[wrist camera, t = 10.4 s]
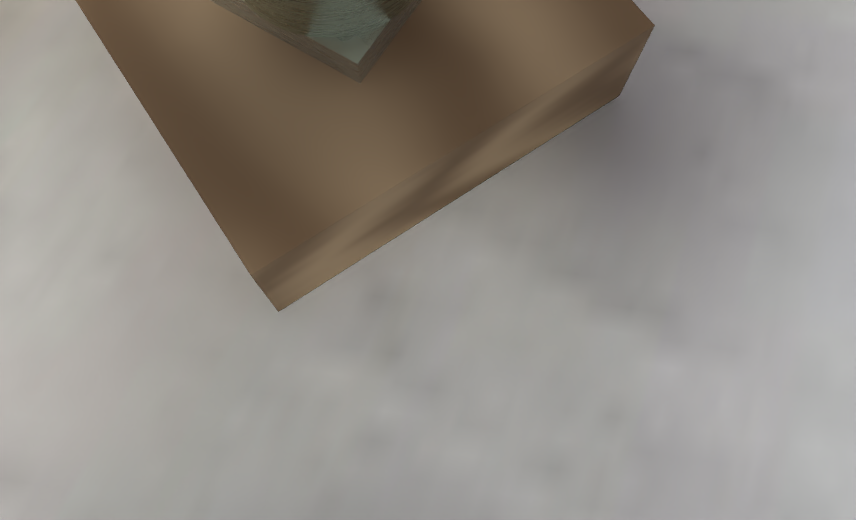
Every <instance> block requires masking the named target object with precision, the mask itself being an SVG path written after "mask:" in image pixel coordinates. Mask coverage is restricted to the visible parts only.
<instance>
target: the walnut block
mask: <svg viewBox="0 0 856 520" xmlns="http://www.w3.org/2000/svg"><path fill="white" fill-rule="evenodd" d="M76 2H77V3H78V5H79V6H80V8H81V10H82V11H83V13H84V14H85V16H86V17H87V19H88V21H89V22H90V24H91V25H92V27H93V28H94V30H95V32H96V33H97V35H98V36H99V38H100V39H101V41H102V43H103V44H104V46H105V47H106V49H107V50H108V52H109V54H110V55H111V57H112V58H113V60H114V61H115V63H116V65H117V66H118V68H119V69H120V71H121V72H122V74H123V75H124V77H125V79H126V80H127V82H128V83H129V85H130V86H131V88H132V90H133V91H134V93H135V94H136V96H137V97H138V99H139V101H140V102H141V104H142V105H143V107H144V108H145V110H146V112H147V113H148V115H149V116H150V118H151V119H152V121H153V123H154V124H155V126H156V127H157V129H158V130H159V132H160V134H161V135H162V137H163V138H164V140H165V141H166V143H167V145H168V146H169V148H170V149H171V151H172V152H173V154H174V156H175V157H176V159H177V160H178V162H179V163H180V165H181V167H182V168H183V170H184V171H185V173H186V174H187V176H188V178H189V179H190V181H191V182H192V184H193V185H194V187H195V189H196V190H197V192H198V193H199V195H200V196H201V198H202V200H203V201H204V203H205V204H206V206H207V207H208V209H209V211H210V212H211V214H212V215H213V217H214V218H215V220H216V222H217V223H218V225H219V226H220V228H221V229H222V231H223V232H224V234H225V236H226V237H227V239H228V240H229V242H230V243H231V245H232V247H233V248H234V250H235V251H236V253H237V254H238V256H239V258H240V259H241V261H242V262H243V264H244V265H245V267H246V269H247V270H248V272H249V273H250V275H251V276H252V278H253V279H254V280H255V282H256V283H257V284H258V285H259V287H260V288H261V289H262V291H263V292H264V293H265V295H266V296H267V297H268V299H269V300H270V301H271V303H272V304H273V305H274V307H275V308H276V309H277V310H278V312H279V311H280V310H282V309H284V308H285V307H287V306H288V305H290V304H291V303H293V302H295V301H296V300H298V299H299V298H301V297H302V296H304V295H306V294H307V293H309V292H310V291H312V290H314V289H315V288H317V287H318V286H320V285H321V284H323V283H325V282H326V281H328V280H329V279H331V278H332V277H334V276H336V275H337V274H339V273H340V272H342V271H343V270H345V269H347V268H348V267H350V266H351V265H353V264H355V263H356V262H358V261H359V260H361V259H362V258H364V257H366V256H367V255H369V254H370V253H372V252H373V251H375V250H377V249H378V248H380V247H381V246H383V245H384V244H386V243H388V242H389V241H391V240H392V239H394V238H396V237H397V236H399V235H400V234H402V233H403V232H405V231H407V230H408V229H410V228H411V227H413V226H414V225H416V224H418V223H419V222H421V221H422V220H424V219H425V218H427V217H429V216H430V215H432V214H433V213H435V212H437V211H438V210H440V209H441V208H443V207H444V206H446V205H448V204H449V203H451V202H452V201H454V200H455V199H457V198H459V197H460V196H462V195H463V194H465V193H466V192H468V191H470V190H471V189H473V188H474V187H476V186H478V185H479V184H481V183H482V182H484V181H485V180H487V179H489V178H490V177H492V176H493V175H495V174H496V173H498V172H500V171H501V170H503V169H504V168H506V167H507V166H509V165H511V164H512V163H514V162H515V161H517V160H519V159H520V158H522V157H523V156H525V155H526V154H528V153H530V152H531V151H533V150H534V149H536V148H537V147H539V146H541V145H542V144H544V143H545V142H547V141H548V140H550V139H552V138H553V137H555V136H556V135H558V134H560V133H561V132H563V131H564V130H566V129H567V128H569V127H571V126H572V125H574V124H575V123H577V122H578V121H580V120H582V119H583V118H585V117H586V116H588V115H589V114H591V113H593V112H594V111H596V110H597V109H599V108H601V107H602V106H604V105H605V104H607V103H608V102H610V101H612V100H613V99H615V98H616V97H618V96H619V95H620V93H621V91H622V89H623V87H624V85H625V83H626V81H627V79H628V77H629V75H630V73H631V71H632V69H633V67H634V65H635V64H636V62H637V60H638V58H639V56H640V54H641V52H642V50H643V48H644V46H645V44H646V42H647V40H648V38H649V36H650V34H651V32H652V30H653V28H654V26H655V25H654V24H653V23H652V22H651V21H650V20H649V19H648V18H647V16H646V15H645V14H644V13H643V12H642V11H641V10H640V9H639V8H638V7H637V5H636V4H635V3H634V2H633V1H632V0H422V1H421V2H420V4H419V5H418V6H417V8H416V9H415V10H414V12H413V13H412V14H411V16H410V17H409V18H408V20H407V21H406V22H405V24H404V25H403V26H402V28H401V29H400V31H399V32H398V33H397V35H396V36H395V37H394V39H393V40H392V41H391V43H390V44H389V45H388V47H387V48H386V49H385V51H384V52H383V53H382V55H381V56H380V57H379V59H378V60H377V62H376V63H375V64H374V66H373V67H372V68H371V70H370V71H369V72H368V74H367V75H366V76H365V78H364V79H363V80H362V82H361V83H358V82H356V81H355V80H353V79H351V78H349V77H347V76H346V75H344V74H342V73H340V72H338V71H337V70H335V69H333V68H331V67H329V66H327V65H326V64H324V63H322V62H320V61H318V60H317V59H315V58H313V57H311V56H309V55H308V54H306V53H304V52H302V51H300V50H299V49H297V48H295V47H293V46H291V45H290V44H288V43H286V42H284V41H282V40H281V39H279V38H277V37H275V36H273V35H272V34H270V33H268V32H266V31H264V30H263V29H261V28H259V27H257V26H255V25H254V24H252V23H250V22H248V21H246V20H245V19H243V18H241V17H239V16H237V15H236V14H234V13H232V12H230V11H228V10H226V9H225V8H223V7H221V6H219V5H217V4H216V3H214V2H212V1H210V0H76Z"/></svg>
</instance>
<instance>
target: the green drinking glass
mask: <svg viewBox="0 0 856 520" xmlns="http://www.w3.org/2000/svg"><path fill="white" fill-rule="evenodd" d="M210 1H212V2H214V3H216V4H217V5H219V6H221V7H223V8H225V9H226V10H228V11H230V12H232V13H234V14H236V15H237V16H239V17H241V18H243V19H245V20H246V21H248V22H250V23H252V24H254V25H255V26H257V27H259V28H261V29H263V30H264V31H266V32H268V33H270V34H272V35H273V36H275V37H277V38H279V39H281V40H282V41H284V42H286V43H288V44H290V45H291V46H293V47H295V48H297V49H299V50H300V51H302V52H304V53H306V54H308V55H309V56H311V57H313V58H315V59H317V60H318V61H320V62H322V63H324V64H326V65H327V66H329V67H331V68H333V69H335V70H337V71H338V72H340V73H342V74H344V75H346V76H347V77H349V78H351V79H353V80H355V81H356V82H358V83H361V82H362V80H363V79H364V78H365V76H366V75H367V74H368V72H369V71H370V70H371V68H372V67H373V66H374V64H375V63H376V62H377V60H378V59H379V57H380V56H381V55H382V53H383V52H384V51H385V49H386V48H387V47H388V45H389V44H390V43H391V41H392V40H393V39H394V37H395V36H396V35H397V33H398V32H399V31H400V29H401V28H402V26H403V25H404V24H405V22H406V21H407V20H408V18H409V17H410V16H411V14H412V13H413V12H414V10H415V9H416V8H417V6H418V5H419V4H420V2H421V1H422V0H210Z"/></svg>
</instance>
